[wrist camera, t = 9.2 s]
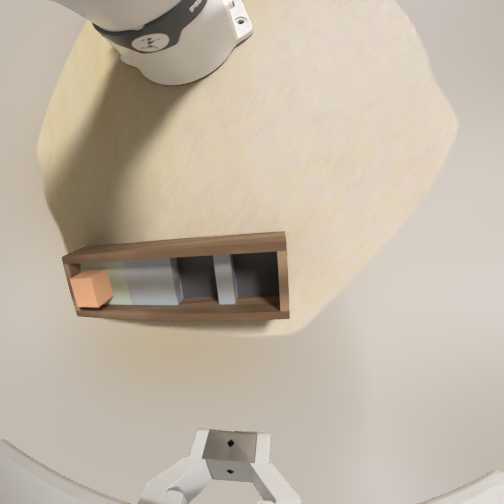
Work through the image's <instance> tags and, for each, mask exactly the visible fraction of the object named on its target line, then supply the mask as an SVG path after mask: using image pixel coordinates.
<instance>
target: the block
mask: <svg viewBox="0 0 504 504" xmlns="http://www.w3.org/2000/svg"><path fill="white" fill-rule="evenodd" d="M70 282H71V286H72V289H73V293H74V297H75V300H76V303H77V307H98V308H99V307H100V306H101V305H102V304H104V303H105V302H106V301H107V300H109V299H110V298H111V297H112V296H113V292H112V288H111V284H110V280H109V276H108V271H107V269H90V270H85V271H83V272H81V273H79V274H78V275H76V276H74V277H72V278H71V279H70Z"/></svg>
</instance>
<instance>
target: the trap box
mask: <svg viewBox="0 0 504 504" xmlns="http://www.w3.org/2000/svg"><path fill="white" fill-rule="evenodd" d="M62 260H63V265H64V269H65V273H66V277H67V281H68V285H69V289H70V293H71V296H72V300H73V303H74V306H75V310H76V312H77V316H82V317H94V318H109V319H128V320H153V321H247V320H273V319H290V317H289V290H288V268H287V249H286V238H285V232H270V233H254V234H239V235H225V236H211V237H198V238H185V239H172V240H160V241H148V242H136V243H125V244H114V245H103V246H92V247H83V248H81V249H79V250H76V251H74V252H72V253H70V254H67V255H65V256H63V257H62ZM90 269H107V271H108V276H109V280H110V284H111V288H112V292H113V296H112V297H111V298H110V299H109V300H107V301H106V302H105V303H104V304H102V305H101V306H100V307H99V308H98V307H77V303H76V300H75V297H74V293H73V289H72V286H71V282H70V279H71V278H72V277H74V276H76V275H78V274H79V273H81V272H83V271H85V270H90Z"/></svg>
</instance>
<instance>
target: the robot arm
mask: <svg viewBox="0 0 504 504" xmlns="http://www.w3.org/2000/svg"><path fill="white" fill-rule="evenodd" d="M50 1H54V2H56V3H59V4H61V5H63V6H65V7H67V8H69V9H71V10H72V11H74V12H76V13H78V14H80V15H81V16H83V17H85V18H86V19H88V20H89V21H91V22H92V24H93V26H94V27H95V29H96V30H97V31H98V32H99V33H101V35H102V36H103V37H105V38H106V39H107V41H108V42H109V43H110V44H111V45H112V46H113V47H115V48H116V49H117V50H118V51H119V52H120V53H121V54H120V59H121V60H122V61H123V62H124V63H125V64H128V65H131V66H135V67H136V68H138V69H139V70H140V72H141V73H142V74H143V75H144V76H145V77H146V78H148V79H149V80H151V81H153V82H156V83H159V84H163V85H180V84H185V83H189V82H193V81H195V80H198V79H200V78H202V77H204V76H206V75H208V74H209V73H211V72H212V71H214V70H215V69H216V68H218V67H219V66H220V65H221V64H222V63H223V62H224V61H225V60H226V58H227V57H228V56H229V54H230V53H231V51H232V50H233V48H234V47H235V46H236V45H237V44H238V43H240V42H242V41H243V40H245V39H246V38H248V37H249V36H250V35H251V34H252V33H253V27H252V24H251V22H250V19H249V17H248V14H247V12H246V10H245V7H244V5H243V3H242V0H50ZM240 22H244V23H243V24H239V23H240ZM212 479H216V480H229V481H241V482H253V484H254V486H255V487H256V489H257V490H258V492H259V493H260V495H261V496H262V498H263V500H264V501H259V502H257V503H256V504H301V499H300V497H299V496H298V495H297V494H296V493H295V491H294V490H293V489H292V488H291V487H290V485H289V484H288V483H287V482H286V480H285V479H284V478H283V477H282V475H281V474H280V473H279V471H278V470H277V469H276V468H275V467H274V465H273V464H272V463H271V433H270V432H242V431H241V432H240V431H234V432H232V431H221V430H211V429H202V428H199V429H198V430H197V431H196V434H195V437H194V441H193V444H192V447H191V450H190V453H189V456H188V457H186V456H185V457H184V458H182V459H181V460H179V461H178V462H177V463H175V464H174V465H172V466H171V467H170V468H168V469H167V470H165V471H164V472H162V473H161V474H159V475H158V476H156V477H155V478H153V479H152V480H150V481H149V482H147V483H146V485H145V488H144V490H143V493H142V495H141V497H140V500H139V502H138V504H189V502H190V501H191V500H192V499H193V498H195V497H196V496H197V495H198V494H199V493H200V492H201V491H202V490H203V489H204V488H205V487H206V486H207V485H208V484H209V483H210V482H211V481H212ZM0 504H130V503H127V502H124V501H121V500H118V499H115V498H113V497H110V496H107V495H105V494H102V493H100V492H98V491H95V490H92V489H90V488H88V487H86V486H84V485H81V484H79V483H77V482H75V481H73V480H71V479H69V478H67V477H65V476H63V475H61V474H59V473H57V472H56V471H54V470H52V469H50V468H48V467H47V466H45V465H43V464H41V463H39V462H38V461H36V460H35V459H33V458H31V457H30V456H28V455H27V454H25V453H24V452H22V451H21V450H19V449H17V448H16V447H15V446H13V445H12V444H10V443H9V442H8V441H6V440H3V439H1V440H0ZM418 504H504V472H501V471H498V470H494V471H491V472H489V473H487V474H485V475H483V476H481V477H480V478H478V479H476V480H474V481H472V482H470V483H468V484H465V485H463V486H461V487H459V488H457V489H455V490H452V491H450V492H447V493H445V494H443V495H440V496H438V497H435V498H432V499H430V500H427V501H424V502H421V503H418Z"/></svg>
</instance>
